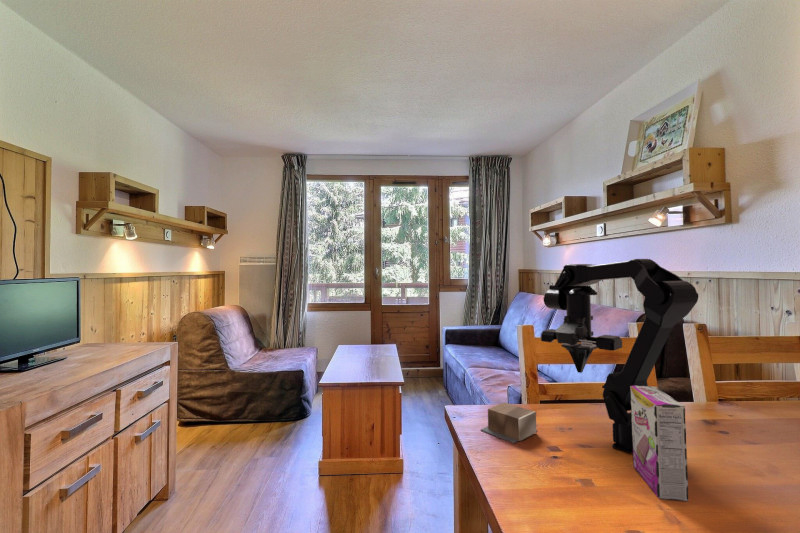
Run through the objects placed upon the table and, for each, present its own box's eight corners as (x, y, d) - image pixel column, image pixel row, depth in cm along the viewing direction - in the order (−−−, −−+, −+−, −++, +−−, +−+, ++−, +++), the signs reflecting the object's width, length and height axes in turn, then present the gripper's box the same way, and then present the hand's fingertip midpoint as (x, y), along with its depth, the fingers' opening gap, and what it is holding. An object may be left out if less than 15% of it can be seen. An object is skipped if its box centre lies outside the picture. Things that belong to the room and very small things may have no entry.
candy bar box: (631, 467, 76) (628, 384, 76) (659, 469, 75) (656, 385, 75) (657, 500, 65) (654, 403, 65) (690, 503, 64) (687, 405, 64)
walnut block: (535, 411, 92) (504, 402, 99) (519, 419, 88) (487, 408, 94) (536, 432, 92) (504, 421, 99) (520, 440, 87) (488, 429, 94)
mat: (537, 430, 94) (537, 429, 94) (514, 443, 87) (514, 441, 87) (504, 420, 101) (504, 418, 101) (480, 430, 94) (480, 429, 94)
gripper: (529, 312, 101) (530, 371, 100) (603, 317, 86) (605, 386, 86) (550, 309, 108) (551, 364, 107) (622, 313, 94) (624, 377, 93)
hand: (580, 372), depth 98 cm, fingers closed
